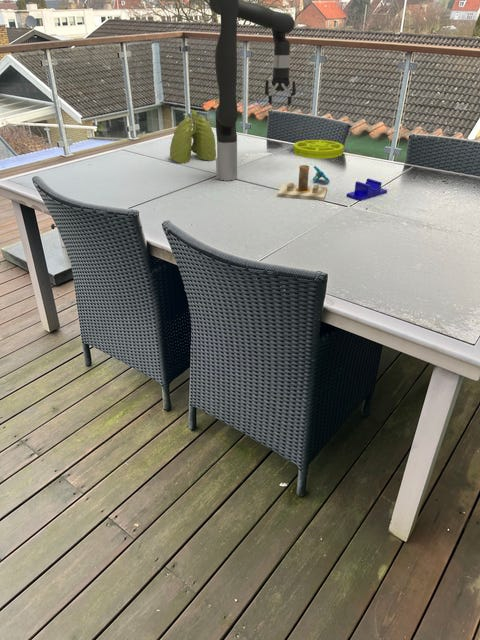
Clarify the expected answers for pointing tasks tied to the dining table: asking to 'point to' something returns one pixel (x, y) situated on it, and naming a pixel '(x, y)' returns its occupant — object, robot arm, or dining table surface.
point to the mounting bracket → (366, 190)
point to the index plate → (302, 192)
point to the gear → (319, 175)
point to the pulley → (318, 149)
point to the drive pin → (303, 177)
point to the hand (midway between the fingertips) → (279, 104)
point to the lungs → (201, 140)
